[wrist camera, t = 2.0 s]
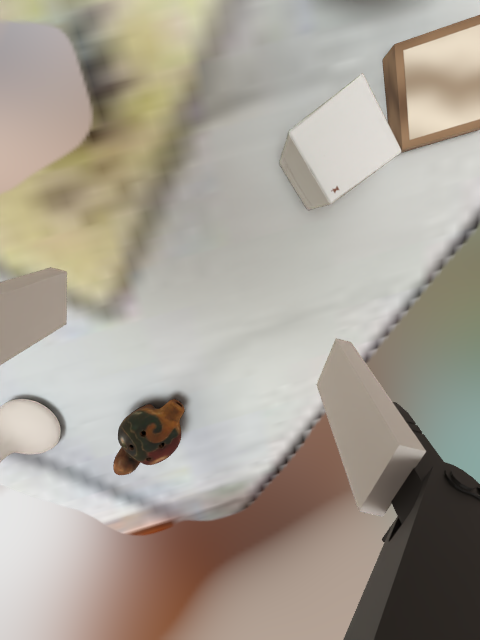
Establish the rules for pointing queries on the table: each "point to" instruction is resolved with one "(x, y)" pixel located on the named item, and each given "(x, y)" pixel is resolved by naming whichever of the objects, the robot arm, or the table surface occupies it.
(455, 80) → the walnut base
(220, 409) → the table surface
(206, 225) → the table surface
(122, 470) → the painted clay ocarina
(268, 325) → the table surface
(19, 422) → the flower in vase
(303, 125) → the supplement box
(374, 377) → the robot arm
